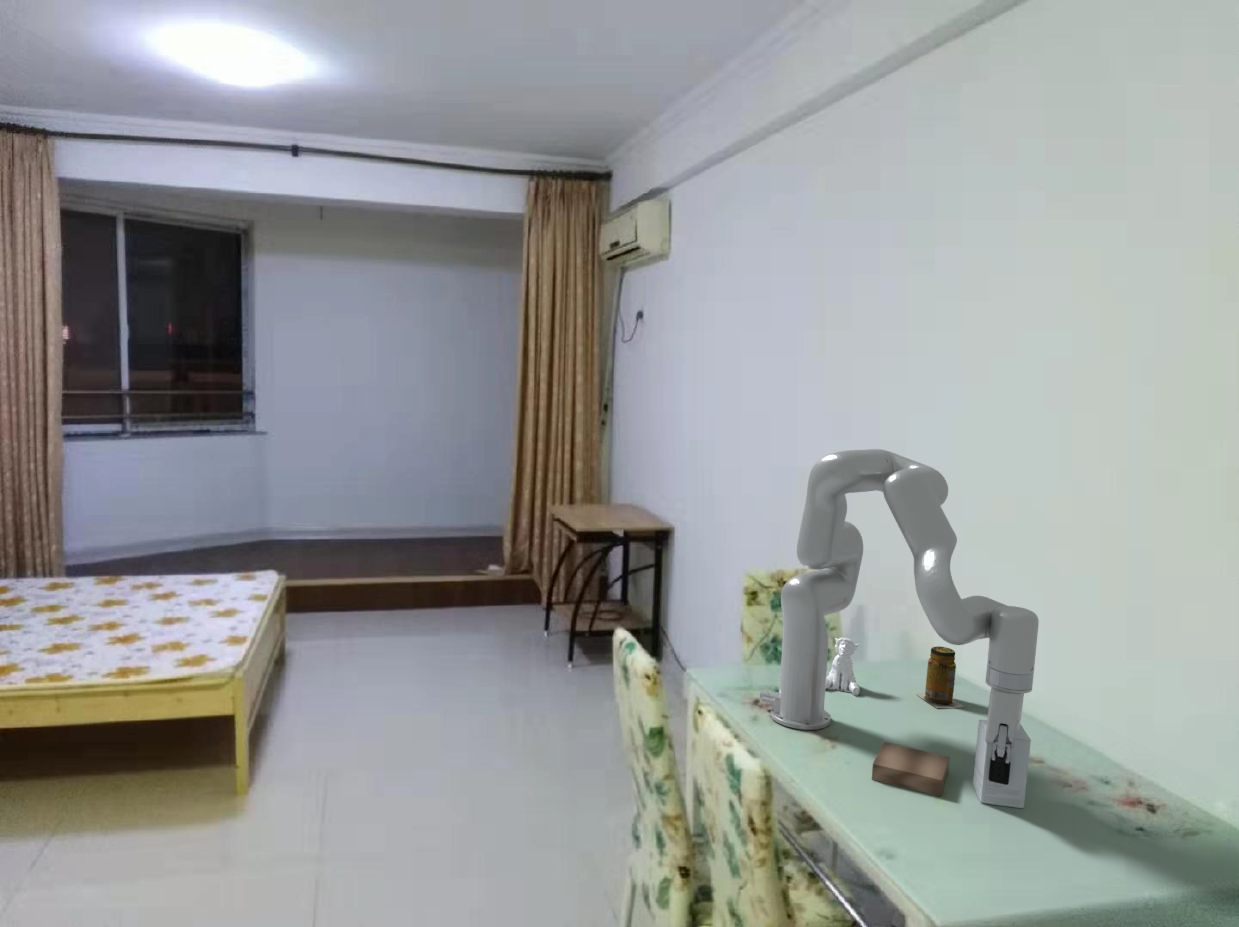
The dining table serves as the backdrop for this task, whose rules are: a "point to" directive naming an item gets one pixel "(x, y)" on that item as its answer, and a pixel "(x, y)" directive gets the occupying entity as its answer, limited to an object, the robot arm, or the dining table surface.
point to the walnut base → (911, 768)
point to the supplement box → (1018, 770)
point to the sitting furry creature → (843, 668)
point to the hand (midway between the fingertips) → (1000, 771)
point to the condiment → (941, 679)
